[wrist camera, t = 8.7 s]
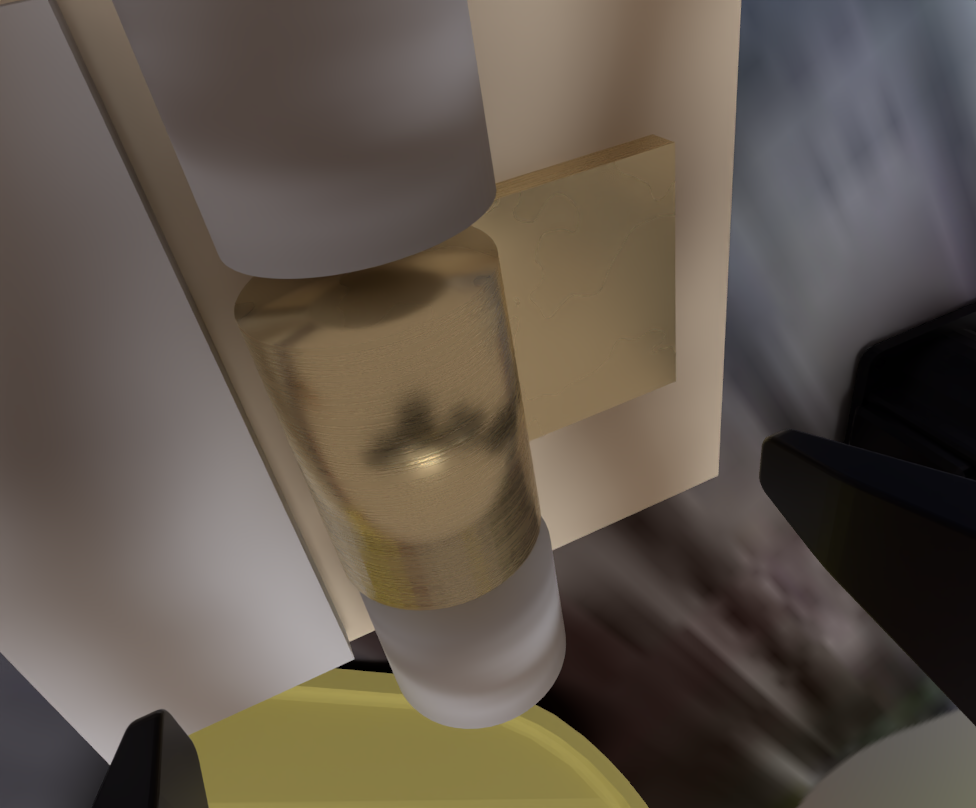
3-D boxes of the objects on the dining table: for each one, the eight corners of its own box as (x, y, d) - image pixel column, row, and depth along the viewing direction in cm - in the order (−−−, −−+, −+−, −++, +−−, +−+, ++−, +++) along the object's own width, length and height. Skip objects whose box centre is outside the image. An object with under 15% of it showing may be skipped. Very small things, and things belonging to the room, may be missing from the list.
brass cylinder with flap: (221, 268, 13) (253, 383, 9) (652, 134, 15) (806, 188, 12) (320, 502, 16) (369, 647, 13) (657, 367, 18) (776, 461, 15)
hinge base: (697, -175, 14) (982, -239, 9) (688, 448, 23) (825, 572, 18) (-424, 42, 9) (-942, 129, 5) (124, 694, 19) (122, 931, 14)
